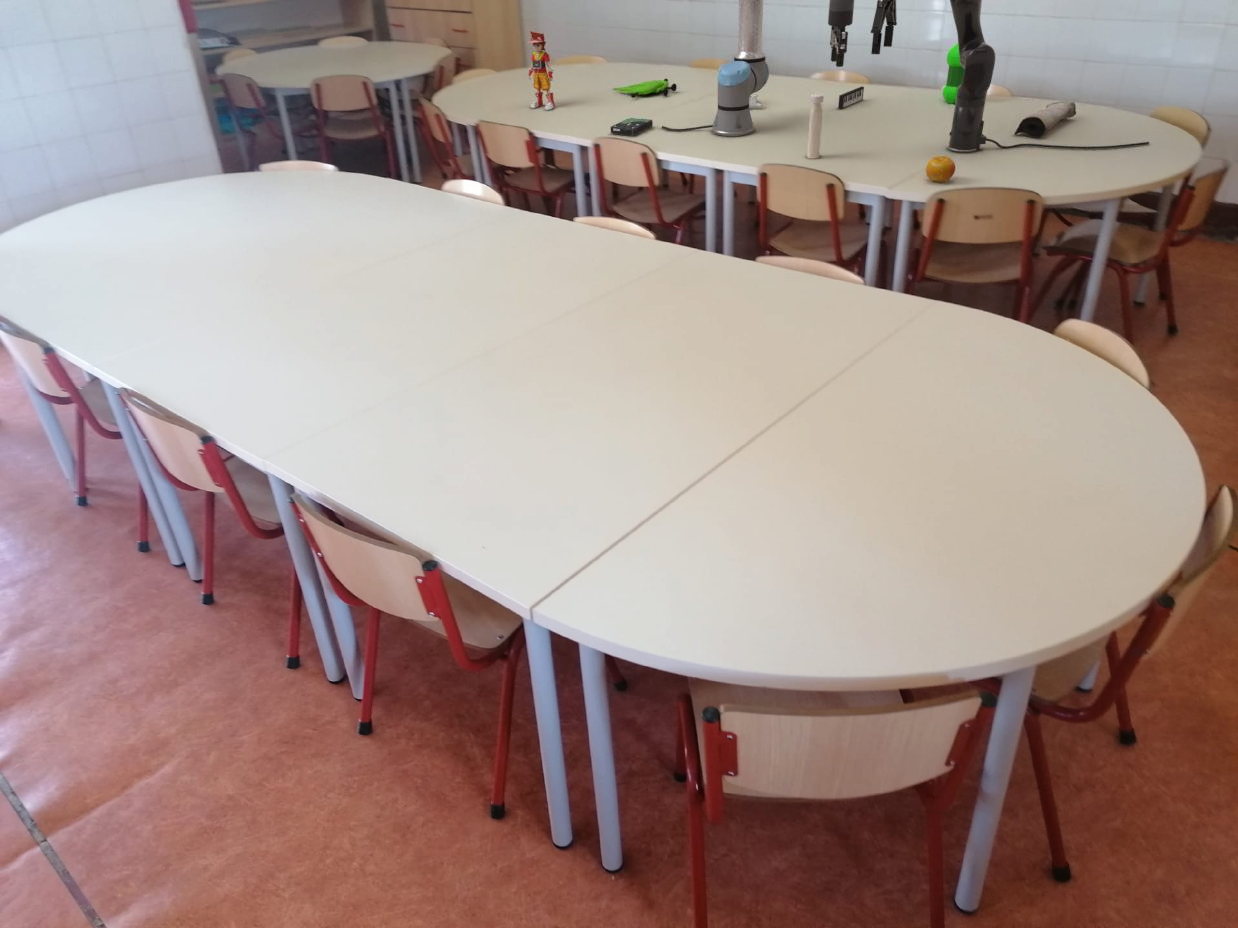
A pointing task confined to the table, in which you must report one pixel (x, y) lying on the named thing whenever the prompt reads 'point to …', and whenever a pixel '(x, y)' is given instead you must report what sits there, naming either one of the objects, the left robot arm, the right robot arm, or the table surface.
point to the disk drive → (631, 126)
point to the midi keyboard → (850, 97)
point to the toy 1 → (541, 71)
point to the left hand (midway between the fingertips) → (881, 50)
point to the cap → (817, 98)
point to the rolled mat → (1046, 118)
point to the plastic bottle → (953, 75)
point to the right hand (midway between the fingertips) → (836, 64)
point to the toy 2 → (648, 88)
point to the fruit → (940, 169)
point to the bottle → (814, 131)
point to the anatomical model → (753, 102)
